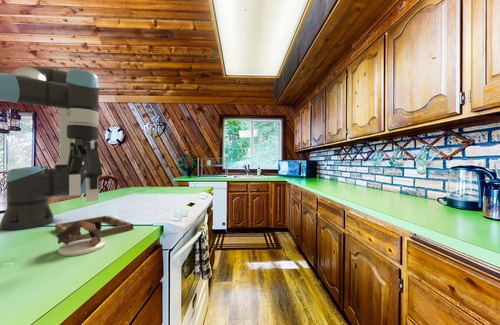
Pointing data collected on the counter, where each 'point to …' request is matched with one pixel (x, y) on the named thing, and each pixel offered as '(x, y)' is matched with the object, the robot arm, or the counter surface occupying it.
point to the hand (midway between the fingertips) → (83, 198)
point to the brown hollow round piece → (74, 229)
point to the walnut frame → (121, 227)
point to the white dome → (80, 247)
